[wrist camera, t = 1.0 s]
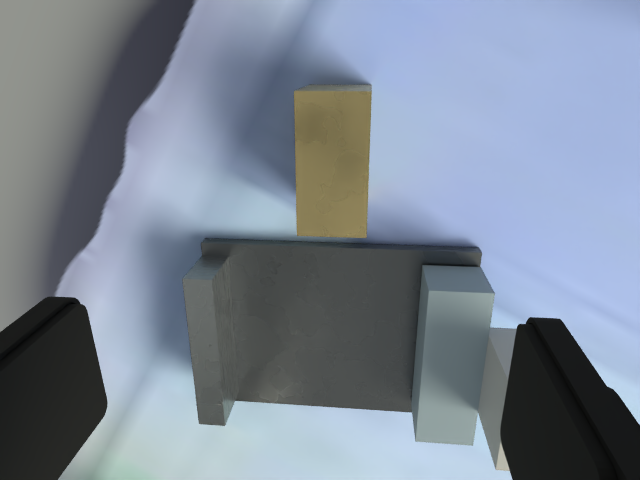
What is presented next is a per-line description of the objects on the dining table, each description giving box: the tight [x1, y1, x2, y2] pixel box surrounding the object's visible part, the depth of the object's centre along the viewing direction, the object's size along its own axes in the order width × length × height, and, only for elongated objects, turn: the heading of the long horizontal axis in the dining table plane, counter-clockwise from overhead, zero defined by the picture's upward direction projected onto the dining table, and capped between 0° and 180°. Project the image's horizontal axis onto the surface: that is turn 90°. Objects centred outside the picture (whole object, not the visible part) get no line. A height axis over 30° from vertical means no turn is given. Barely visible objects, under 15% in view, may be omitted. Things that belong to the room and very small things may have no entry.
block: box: [294, 85, 372, 238], centre depth 29 cm, size 8×4×7 cm, turn 0°
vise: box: [182, 238, 482, 426], centre depth 35 cm, size 14×20×5 cm
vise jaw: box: [411, 265, 517, 471], centre depth 31 cm, size 12×6×9 cm, turn 0°
